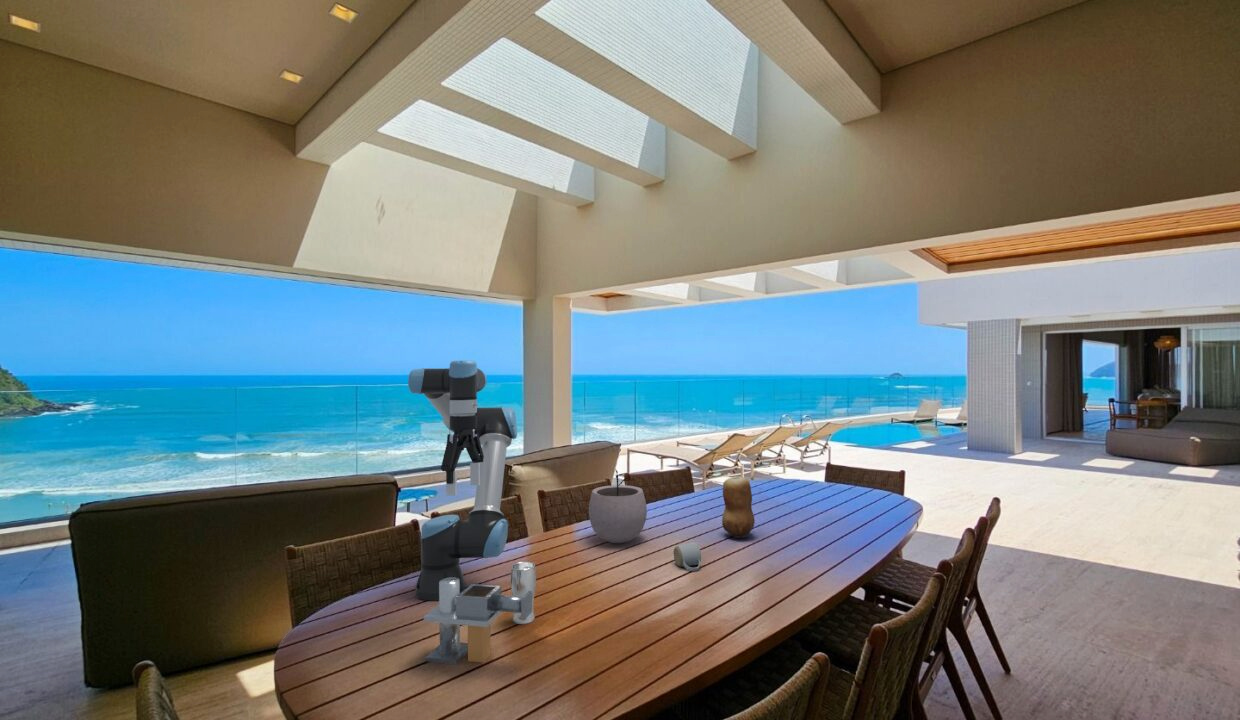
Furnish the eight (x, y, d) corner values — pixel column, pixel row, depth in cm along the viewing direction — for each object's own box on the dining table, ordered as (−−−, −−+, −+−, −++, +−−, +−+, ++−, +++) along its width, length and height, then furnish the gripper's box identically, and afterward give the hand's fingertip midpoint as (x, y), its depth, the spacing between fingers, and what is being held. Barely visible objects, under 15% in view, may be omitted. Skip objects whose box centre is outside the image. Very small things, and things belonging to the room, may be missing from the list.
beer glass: (524, 627, 145) (524, 571, 145) (505, 621, 149) (505, 567, 149) (541, 617, 151) (540, 564, 151) (522, 611, 154) (522, 559, 155)
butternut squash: (718, 532, 228) (717, 474, 228) (748, 531, 229) (747, 473, 230) (728, 543, 214) (727, 480, 215) (760, 541, 215) (759, 479, 216)
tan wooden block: (468, 661, 128) (467, 610, 128) (475, 652, 132) (475, 603, 132) (483, 662, 127) (483, 612, 128) (490, 654, 131) (490, 605, 132)
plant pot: (648, 550, 207) (647, 473, 207) (587, 551, 207) (586, 473, 208) (646, 532, 231) (645, 462, 231) (591, 532, 231) (590, 463, 232)
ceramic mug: (672, 563, 193) (672, 541, 193) (692, 560, 195) (692, 539, 195) (685, 573, 183) (685, 551, 183) (706, 570, 185) (706, 548, 185)
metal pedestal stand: (423, 663, 127) (423, 587, 128) (445, 642, 137) (445, 572, 138) (487, 670, 124) (487, 592, 124) (505, 648, 134) (504, 576, 134)
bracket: (456, 617, 127) (456, 596, 127) (472, 603, 135) (471, 583, 135) (522, 623, 124) (521, 601, 124) (534, 608, 131) (534, 588, 132)
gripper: (453, 418, 138) (453, 500, 137) (494, 411, 162) (495, 481, 161) (427, 418, 139) (427, 499, 139) (472, 411, 164) (472, 480, 163)
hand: (463, 490), depth 150 cm, fingers open, 13 cm apart
